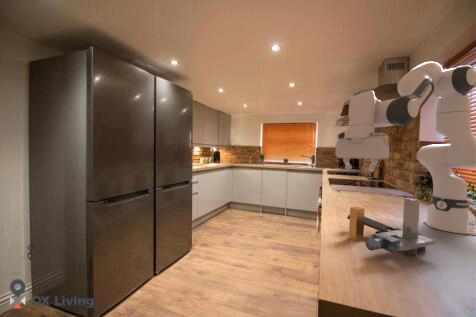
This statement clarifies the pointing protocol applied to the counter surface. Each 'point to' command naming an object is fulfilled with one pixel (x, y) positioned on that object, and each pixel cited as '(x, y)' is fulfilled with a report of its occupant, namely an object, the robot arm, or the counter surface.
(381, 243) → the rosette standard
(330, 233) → the counter surface
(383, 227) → the zipper pull
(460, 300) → the counter surface
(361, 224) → the orange wooden block
